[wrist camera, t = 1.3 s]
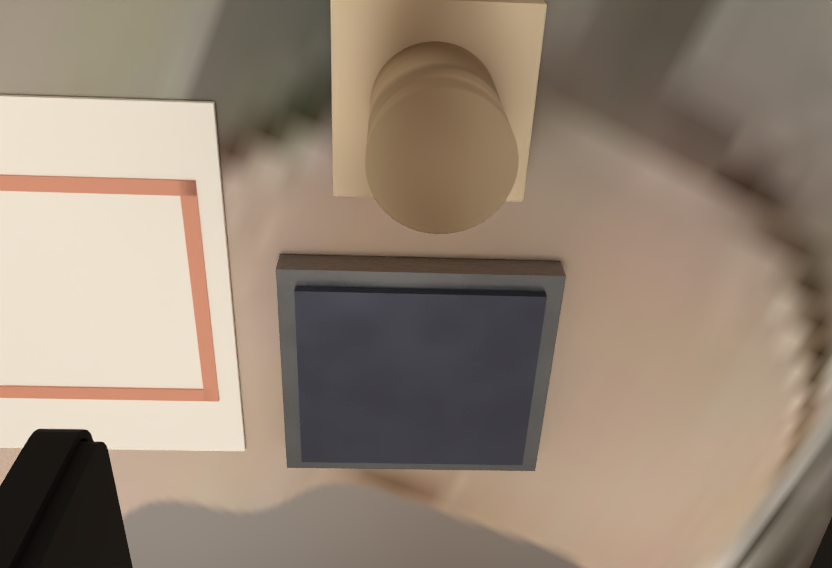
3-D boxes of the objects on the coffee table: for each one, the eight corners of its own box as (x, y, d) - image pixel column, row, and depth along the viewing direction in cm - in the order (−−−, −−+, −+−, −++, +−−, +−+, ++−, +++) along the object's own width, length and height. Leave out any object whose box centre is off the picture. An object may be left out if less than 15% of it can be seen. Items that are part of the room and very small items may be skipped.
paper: (214, 101, 27) (212, 103, 27) (245, 448, 35) (244, 452, 35) (-139, 89, 27) (-144, 92, 27) (-26, 444, 35) (-29, 448, 35)
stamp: (531, -14, 26) (581, 44, 19) (511, 168, 29) (548, 275, 22) (336, -22, 26) (315, 34, 19) (338, 162, 29) (321, 269, 22)
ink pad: (559, 261, 31) (567, 281, 30) (530, 452, 36) (536, 477, 35) (280, 254, 30) (274, 274, 29) (290, 448, 35) (285, 474, 34)
